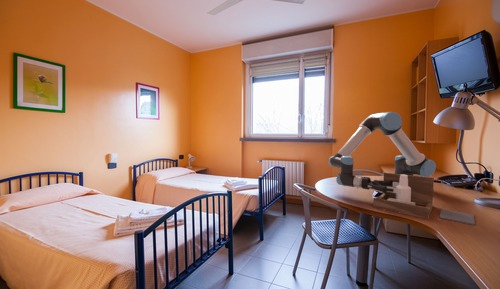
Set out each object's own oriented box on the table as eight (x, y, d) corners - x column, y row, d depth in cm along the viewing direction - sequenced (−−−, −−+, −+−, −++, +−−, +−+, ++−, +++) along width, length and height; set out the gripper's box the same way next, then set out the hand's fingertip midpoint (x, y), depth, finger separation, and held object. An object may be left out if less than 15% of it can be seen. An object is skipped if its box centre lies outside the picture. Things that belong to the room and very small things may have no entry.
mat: (441, 210, 117) (441, 208, 117) (473, 215, 109) (473, 214, 109) (439, 218, 107) (439, 216, 107) (474, 225, 99) (474, 224, 99)
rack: (383, 197, 140) (384, 172, 138) (432, 206, 123) (433, 177, 122) (373, 207, 123) (373, 179, 122) (428, 218, 107) (429, 186, 105)
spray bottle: (407, 204, 125) (408, 173, 124) (412, 209, 119) (413, 176, 118) (393, 204, 127) (394, 173, 126) (398, 208, 121) (399, 176, 119)
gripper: (368, 184, 146) (407, 190, 131) (355, 193, 128) (398, 200, 113) (368, 173, 145) (407, 177, 131) (355, 180, 128) (398, 186, 113)
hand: (403, 188), depth 122 cm, fingers open, 13 cm apart
